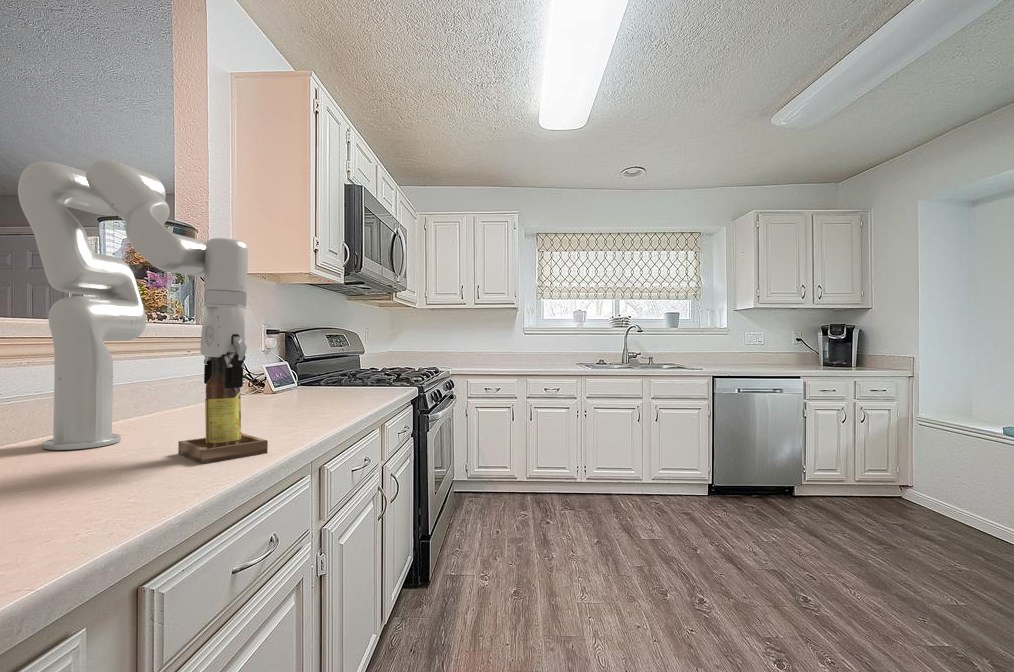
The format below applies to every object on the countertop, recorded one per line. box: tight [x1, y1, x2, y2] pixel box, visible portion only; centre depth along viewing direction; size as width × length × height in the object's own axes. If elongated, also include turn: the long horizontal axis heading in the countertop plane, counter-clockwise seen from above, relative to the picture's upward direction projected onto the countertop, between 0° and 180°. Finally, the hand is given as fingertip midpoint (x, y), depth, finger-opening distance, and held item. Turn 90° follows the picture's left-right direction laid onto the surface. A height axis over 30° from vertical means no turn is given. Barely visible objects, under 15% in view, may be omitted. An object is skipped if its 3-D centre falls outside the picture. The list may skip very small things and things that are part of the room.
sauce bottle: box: [204, 354, 242, 449], centre depth 100 cm, size 6×6×20 cm
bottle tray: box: [177, 432, 268, 465], centre depth 99 cm, size 12×12×2 cm
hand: (222, 385), depth 100 cm, fingers open, 9 cm apart
